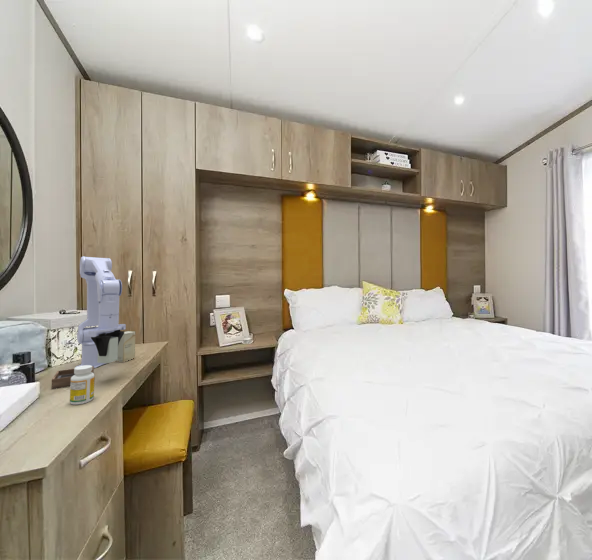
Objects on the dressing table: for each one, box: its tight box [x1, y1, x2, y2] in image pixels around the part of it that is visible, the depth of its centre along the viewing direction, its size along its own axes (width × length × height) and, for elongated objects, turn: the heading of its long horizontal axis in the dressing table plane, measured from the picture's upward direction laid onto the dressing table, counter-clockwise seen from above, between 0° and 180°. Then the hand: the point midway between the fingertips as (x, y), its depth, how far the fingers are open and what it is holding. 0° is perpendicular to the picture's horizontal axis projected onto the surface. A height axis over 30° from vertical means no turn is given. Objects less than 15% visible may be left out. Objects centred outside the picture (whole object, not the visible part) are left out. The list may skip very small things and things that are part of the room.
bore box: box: [51, 366, 95, 390], centre depth 89 cm, size 10×10×3 cm
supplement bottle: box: [69, 365, 96, 406], centre depth 75 cm, size 5×5×10 cm
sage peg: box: [97, 337, 118, 364], centre depth 90 cm, size 4×4×8 cm
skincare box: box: [115, 330, 136, 363], centre depth 114 cm, size 6×4×12 cm
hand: (107, 354), depth 90 cm, fingers closed on sage peg, 4 cm apart
